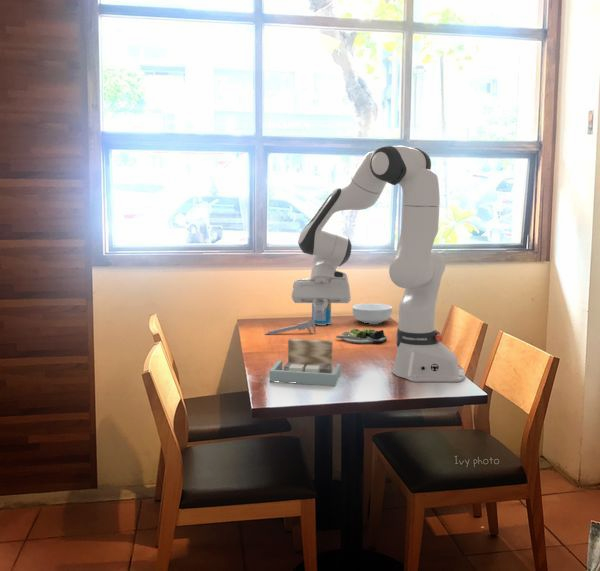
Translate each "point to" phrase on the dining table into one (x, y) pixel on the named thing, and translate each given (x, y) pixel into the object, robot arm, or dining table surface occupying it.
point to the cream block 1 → (296, 367)
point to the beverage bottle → (322, 315)
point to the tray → (304, 376)
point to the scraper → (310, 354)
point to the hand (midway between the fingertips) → (319, 311)
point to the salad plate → (363, 336)
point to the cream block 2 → (312, 368)
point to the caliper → (296, 327)
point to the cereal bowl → (372, 312)
